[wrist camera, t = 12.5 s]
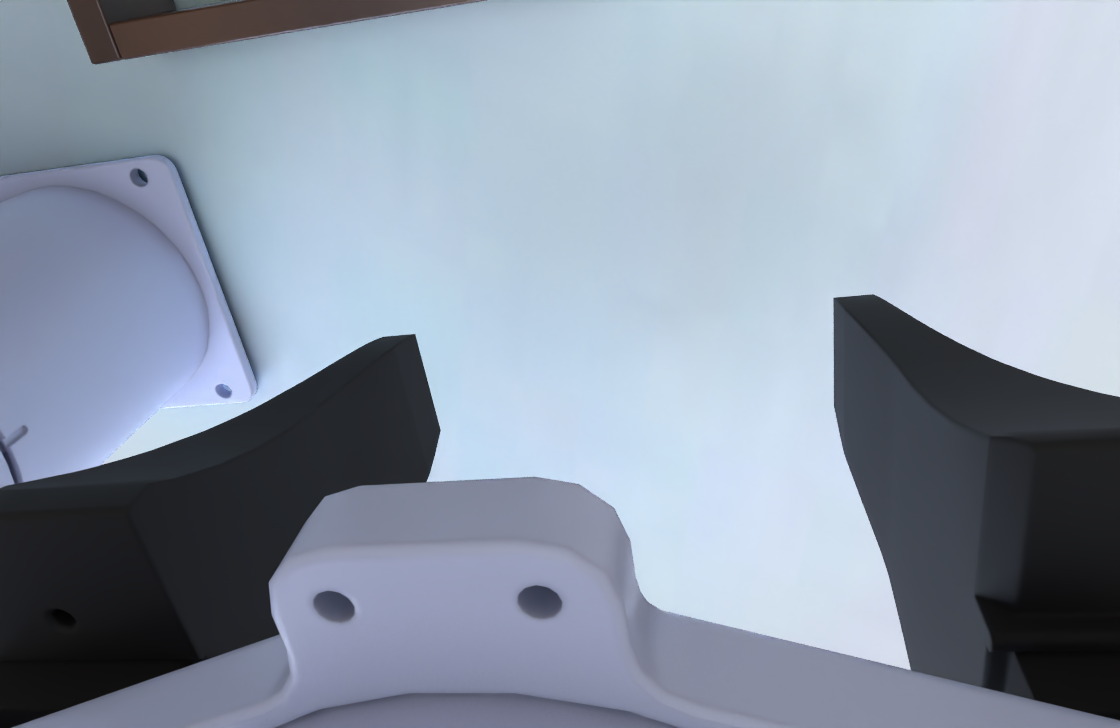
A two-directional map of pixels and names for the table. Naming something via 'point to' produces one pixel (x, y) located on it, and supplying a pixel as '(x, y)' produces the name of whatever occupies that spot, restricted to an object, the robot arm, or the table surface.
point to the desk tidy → (216, 22)
